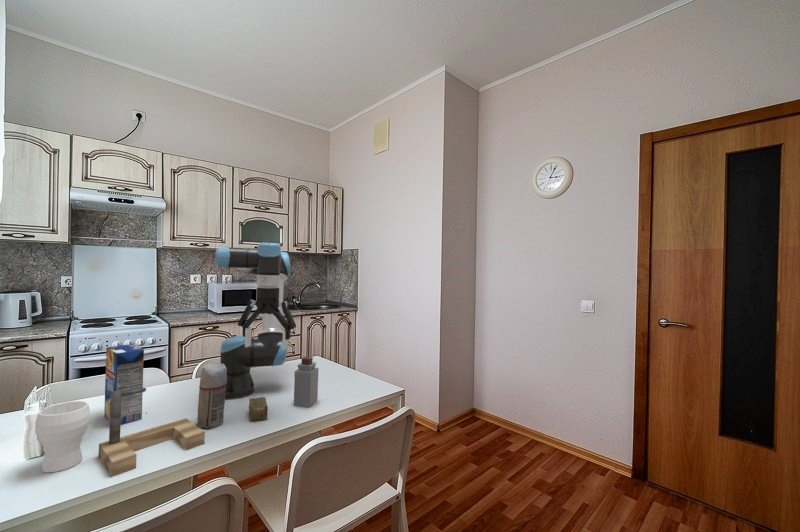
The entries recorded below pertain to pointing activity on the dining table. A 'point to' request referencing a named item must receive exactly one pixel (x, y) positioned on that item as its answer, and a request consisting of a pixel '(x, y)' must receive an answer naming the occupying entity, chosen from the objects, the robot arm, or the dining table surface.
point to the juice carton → (124, 380)
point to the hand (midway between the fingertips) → (266, 347)
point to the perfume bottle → (306, 383)
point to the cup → (62, 434)
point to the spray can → (212, 395)
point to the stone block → (258, 409)
